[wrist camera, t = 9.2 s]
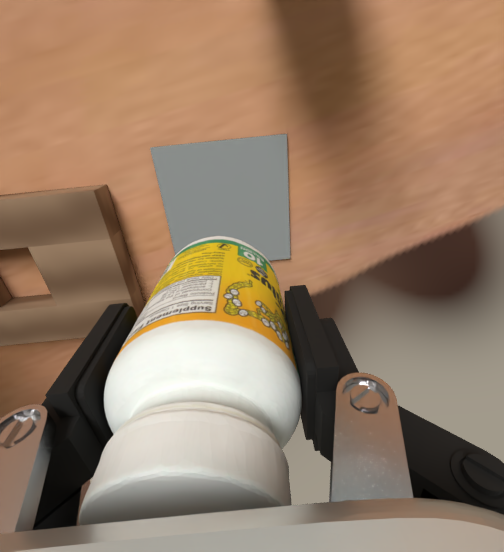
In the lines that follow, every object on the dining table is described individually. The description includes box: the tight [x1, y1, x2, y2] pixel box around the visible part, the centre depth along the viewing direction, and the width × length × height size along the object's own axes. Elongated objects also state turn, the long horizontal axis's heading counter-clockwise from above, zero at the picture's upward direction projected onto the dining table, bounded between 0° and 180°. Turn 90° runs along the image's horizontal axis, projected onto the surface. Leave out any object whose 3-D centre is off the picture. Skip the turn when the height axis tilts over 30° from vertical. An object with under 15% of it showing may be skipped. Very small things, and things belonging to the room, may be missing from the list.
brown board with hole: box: [0, 185, 145, 346], centre depth 27 cm, size 14×20×2 cm
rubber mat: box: [150, 134, 290, 261], centre depth 26 cm, size 11×11×1 cm
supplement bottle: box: [79, 236, 302, 526], centre depth 10 cm, size 5×5×10 cm
